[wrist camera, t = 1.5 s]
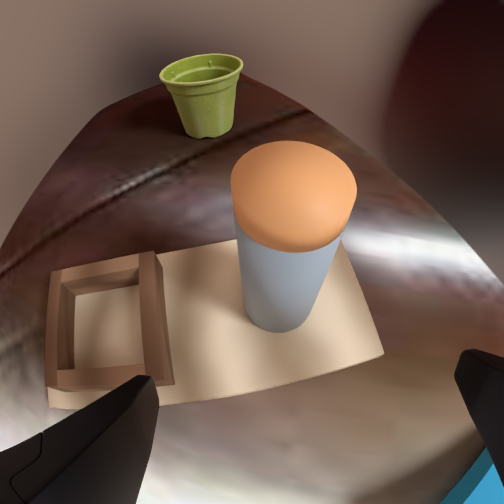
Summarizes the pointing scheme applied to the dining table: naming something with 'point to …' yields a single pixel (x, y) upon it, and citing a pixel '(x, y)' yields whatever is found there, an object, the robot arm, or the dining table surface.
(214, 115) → the plant pot
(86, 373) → the jig
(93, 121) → the dining table surface
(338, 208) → the orange-capped blue cylinder
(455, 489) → the lever
